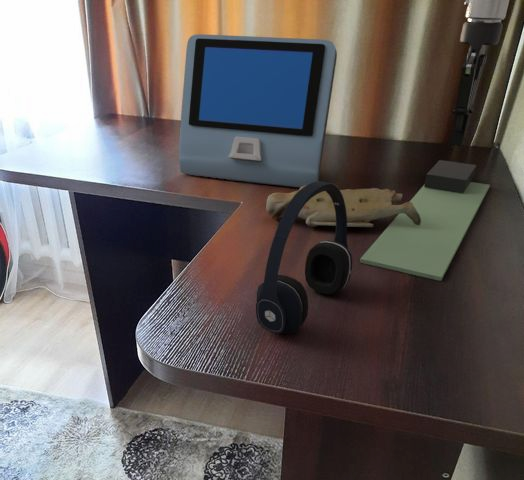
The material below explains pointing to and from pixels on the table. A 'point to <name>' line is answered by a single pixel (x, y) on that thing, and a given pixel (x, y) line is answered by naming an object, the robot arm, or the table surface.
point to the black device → (450, 176)
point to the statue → (357, 207)
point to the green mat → (427, 232)
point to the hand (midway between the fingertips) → (455, 144)
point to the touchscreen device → (256, 108)
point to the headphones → (316, 267)
